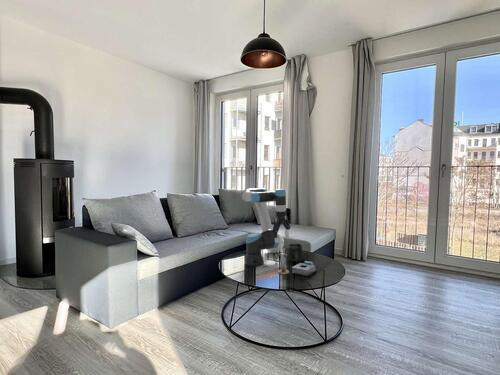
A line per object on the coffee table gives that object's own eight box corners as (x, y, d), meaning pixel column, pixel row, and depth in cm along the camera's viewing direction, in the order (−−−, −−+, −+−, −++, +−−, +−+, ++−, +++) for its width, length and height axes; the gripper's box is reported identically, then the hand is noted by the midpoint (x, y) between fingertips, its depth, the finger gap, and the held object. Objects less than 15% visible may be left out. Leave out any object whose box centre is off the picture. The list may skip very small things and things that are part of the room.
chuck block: (292, 272, 205) (291, 265, 205) (302, 266, 217) (302, 260, 217) (307, 276, 198) (307, 268, 197) (317, 269, 209) (316, 262, 209)
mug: (304, 261, 230) (304, 246, 230) (286, 262, 229) (286, 247, 228) (300, 257, 241) (300, 243, 240) (283, 258, 240) (283, 244, 239)
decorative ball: (288, 251, 261) (287, 229, 260) (280, 256, 246) (279, 233, 245) (268, 249, 271) (268, 228, 270) (260, 253, 257) (259, 231, 256)
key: (286, 272, 204) (285, 254, 203) (278, 271, 208) (277, 253, 207) (288, 271, 207) (287, 253, 206) (280, 269, 211) (280, 252, 210)
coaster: (275, 272, 207) (275, 272, 207) (281, 269, 213) (281, 268, 213) (285, 274, 202) (285, 274, 202) (291, 271, 208) (291, 270, 208)
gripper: (275, 213, 194) (276, 244, 195) (294, 208, 213) (295, 237, 214) (266, 212, 198) (267, 243, 200) (285, 208, 218) (286, 236, 219)
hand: (282, 240), depth 207 cm, fingers open, 13 cm apart
